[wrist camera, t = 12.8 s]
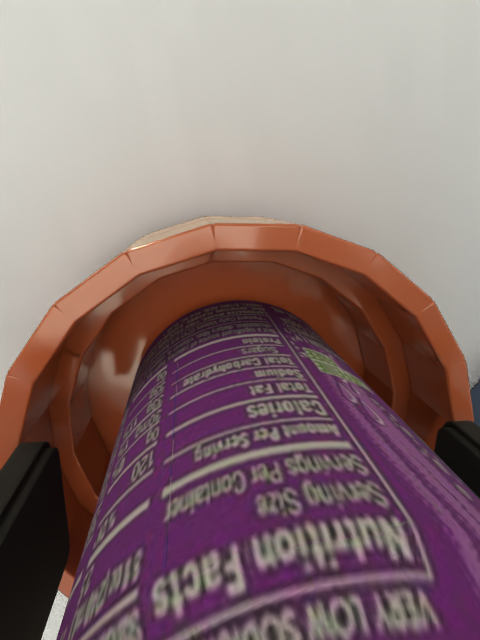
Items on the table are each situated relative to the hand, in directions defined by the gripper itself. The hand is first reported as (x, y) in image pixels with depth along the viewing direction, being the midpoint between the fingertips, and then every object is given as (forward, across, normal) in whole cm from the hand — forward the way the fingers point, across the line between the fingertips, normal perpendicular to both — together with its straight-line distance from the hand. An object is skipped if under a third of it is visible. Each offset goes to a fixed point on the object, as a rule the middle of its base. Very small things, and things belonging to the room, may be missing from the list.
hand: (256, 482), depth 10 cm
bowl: (+6, 0, 0) cm, 6 cm away
